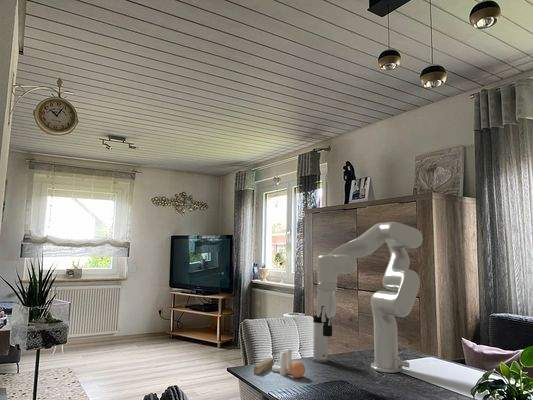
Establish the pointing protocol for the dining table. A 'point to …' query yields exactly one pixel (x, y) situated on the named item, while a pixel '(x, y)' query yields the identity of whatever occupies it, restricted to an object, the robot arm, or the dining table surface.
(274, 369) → the front pin
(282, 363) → the pin
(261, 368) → the wooden bar
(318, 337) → the travel mug
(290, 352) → the pin
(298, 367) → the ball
